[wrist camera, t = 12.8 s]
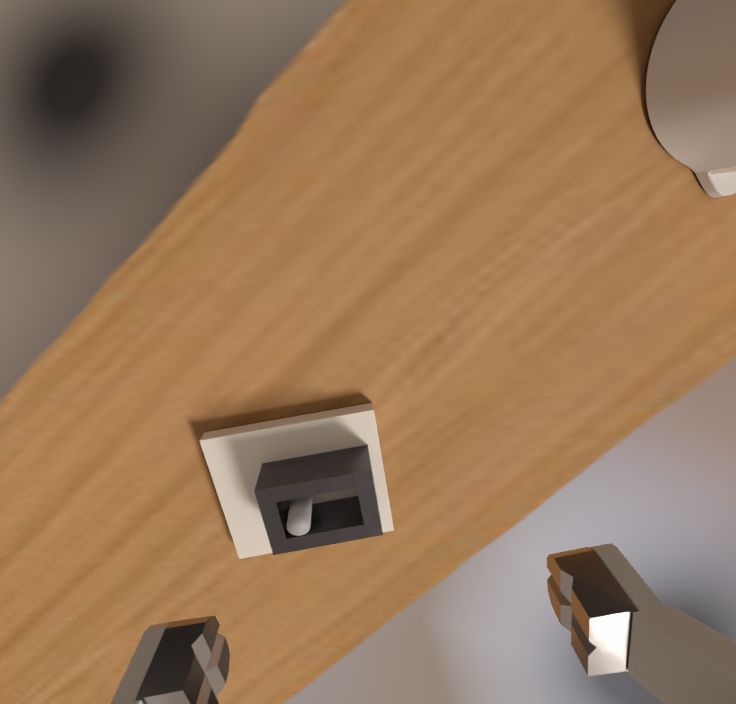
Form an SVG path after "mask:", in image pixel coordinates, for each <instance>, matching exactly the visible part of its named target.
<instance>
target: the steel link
mask: <svg viewBox="0 0 736 704" xmlns="http://www.w3.org/2000/svg"><path fill="white" fill-rule="evenodd" d="M353 488H357V491H358V496H354V497H348V498H343V499H337V500H332V501H326V502H321V503H315V504H312V512H311V525H310V530H309V531H308V532H307V533H306V534H304V535H301V536H296V535H293V534H291V533H289V531H288V530H287V520H288V513H289V507H290V503H289V500H292V499H297V498H303V497H308V496H314V495H319V494H325V493H331V492H336V491H342V490H347V489H353ZM254 492H255V495H256V499H257V502H258V505H259V509H260V512H261V516H262V519H263V522H264V526H265V529H266V532H267V536H268V539H269V542H270V546H271V549H272V552H273V555H276V554H281V553H287V552H292V551H297V550H303V549H308V548H314V547H319V546H325V545H330V544H336V543H341V542H346V541H352V540H357V539H363V538H368V537H374V536H379V535H383V532H382V525H381V519H380V512H379V506H378V500H377V494H376V489H375V483H374V477H373V472H372V466H371V461H370V455H369V449H368V445H363V446H357V447H352V448H346V449H341V450H335V451H329V452H324V453H318V454H312V455H307V456H301V457H296V458H290V459H284V460H279V461H273V462H267V463H262V466H261V470H260V473H259V476H258V480H257V483H256V487H255V490H254Z"/></svg>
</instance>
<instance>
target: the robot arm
mask: <svg viewBox="0 0 736 704" xmlns="http://www.w3.org/2000/svg"><path fill="white" fill-rule="evenodd" d="M646 101H647V109H648V114H649V119H650V122H651V125H652V128H653V130H654V132H655V134H656V136H657V138H658V140H659V141H660V143H661V144H662V146H663V147H664V148H665V149H666V151H667V152H668V153H669V154H670V155H672V156H673V157H674V158H675V159H677V160H678V161H680V162H681V163H683V164H685V165H686V166H688V167H689V168H690V169H692V170H693V171H694V172H695V174H696V176H697V178H698V180H699V182H700V183H701V185H702V187H703V189H704V190H705V191H706V193H707V194H708V195H709V196H711V197H722V196H728V195H731V194H734V193H736V0H676V2H675V3H674V5H673V6H672V8H671V9H670V11H669V13H668V14H667V16H666V18H665V20H664V22H663V23H662V25H661V28H660V30H659V32H658V34H657V37H656V40H655V42H654V45H653V48H652V52H651V56H650V60H649V64H648V70H647V79H646ZM547 567H548V569H549V571H550V573H551V574H552V575H551V576H550V577H549V578H548V580H547V584H548V592H549V597H550V601H551V604H552V606H553V609H554V611H555V614H556V616H557V617H558V620H559V622H560V623H561V625H562V626H564V627H565V628H567V629H568V630H569V631H571V645H572V647H573V649H574V651H575V653H576V654H577V656H578V658H579V660H580V662H581V664H582V666H583V668H584V669H585V672H586V673H587V675H588V676H593V675H600V674H608V673H615V672H622V671H628V674H629V675H630V676H632V677H633V678H634V679H635V680H636V681H637V682H639V683H640V684H641V685H642V686H643V687H645V688H646V689H647V690H648V691H649V692H650V693H651V694H653V695H654V696H655V697H656V698H657V699H659V700H660V701H661V702H662V703H663V704H736V643H735V642H733V641H732V640H730V639H728V638H727V637H725V636H723V635H721V634H720V633H718V632H716V631H714V630H713V629H711V628H709V627H707V626H706V625H704V624H702V623H700V622H699V621H697V620H695V619H694V618H692V617H690V616H688V615H687V614H685V613H683V612H681V611H680V610H678V609H676V608H675V607H673V606H666V607H665V606H664V605H663V604H662V603H661V601H660V600H659V599H658V598H657V596H656V595H655V594H654V593H653V592H652V590H651V589H650V588H649V587H648V585H647V584H646V583H645V582H644V580H643V579H642V578H641V577H640V575H639V574H638V573H637V572H636V570H635V569H634V568H633V567H632V566H631V564H630V563H629V562H628V561H627V559H626V558H625V557H624V556H623V554H622V553H621V552H620V551H619V549H618V548H617V547H616V546H614V545H613V544H605V545H600V546H594V547H590V548H588V547H586V548H581V549H576V550H571V551H566V552H560V553H555V554H551V555H548V557H547ZM219 625H220V624H219V622H218V620H217V619H216V617H215V616H208V617H201V618H194V619H187V620H181V621H174V622H168V623H162V624H156V625H151V626H150V627H149V628H148V629H147V630H146V631H145V632H144V634H143V636H142V638H141V640H140V642H139V644H138V646H137V649H136V651H135V653H134V655H133V657H132V659H131V661H130V663H129V666H128V668H127V670H126V672H125V674H124V676H123V678H122V680H121V682H120V685H119V687H118V689H117V691H116V693H115V695H114V697H113V699H112V701H111V704H219V702H218V700H217V697H216V696H217V695H218V693H219V692H220V691H221V689H222V688H223V687H224V685H225V684H226V680H227V676H228V672H229V661H230V652H229V646H228V643H227V640H226V638H225V637H224V636H222V635H220V634H219V633H217V632H218V629H219Z"/></svg>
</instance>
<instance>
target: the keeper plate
mask: <svg viewBox="0 0 736 704" xmlns="http://www.w3.org/2000/svg"><path fill="white" fill-rule="evenodd" d="M199 441H200V444H201V447H202V450H203V453H204V456H205V459H206V462H207V465H208V468H209V471H210V474H211V477H212V479H213V482H214V485H215V488H216V491H217V494H218V497H219V500H220V503H221V506H222V509H223V512H224V515H225V518H226V521H227V524H228V527H229V530H230V533H231V536H232V539H233V542H234V544H235V547H236V550H237V553H238V556H239V559H242V558H247V557H252V556H258V555H263V554H269V553H273V552H272V549H271V546H270V542H269V539H268V536H267V532H266V529H265V526H264V522H263V519H262V516H261V512H260V509H259V505H258V502H257V499H256V495H255V492H254V490H255V487H256V483H257V480H258V476H259V473H260V470H261V466H262V463H267V462H273V461H279V460H284V459H290V458H296V457H301V456H307V455H312V454H318V453H324V452H329V451H335V450H341V449H346V448H352V447H357V446H363V445H368V449H369V455H370V461H371V466H372V472H373V477H374V483H375V489H376V494H377V500H378V506H379V512H380V519H381V525H382V532H388V531H393V530H394V528H393V522H392V516H391V510H390V504H389V498H388V492H387V486H386V480H385V474H384V468H383V462H382V456H381V450H380V444H379V438H378V432H377V426H376V420H375V414H374V409H373V404H372V403H367V404H362V405H356V406H350V407H345V408H339V409H333V410H328V411H322V412H316V413H311V414H305V415H299V416H294V417H288V418H282V419H277V420H271V421H265V422H260V423H254V424H248V425H243V426H237V427H231V428H226V429H220V430H214V431H209V432H204V434H203V435H202V437H201V439H200V440H199ZM354 496H358V491H357V488H353V489H347V490H342V491H336V492H331V493H325V494H319V495H314V496H308V497H303V498H297V499H292V500H289V503H290V507H289V513H288V520H287V530H288V531H289V533H291V534H293V535H296V536H301V535H304V534H306V533H307V532H308V531H309V530H310V525H311V512H312V504H315V503H321V502H326V501H332V500H337V499H343V498H348V497H354Z"/></svg>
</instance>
